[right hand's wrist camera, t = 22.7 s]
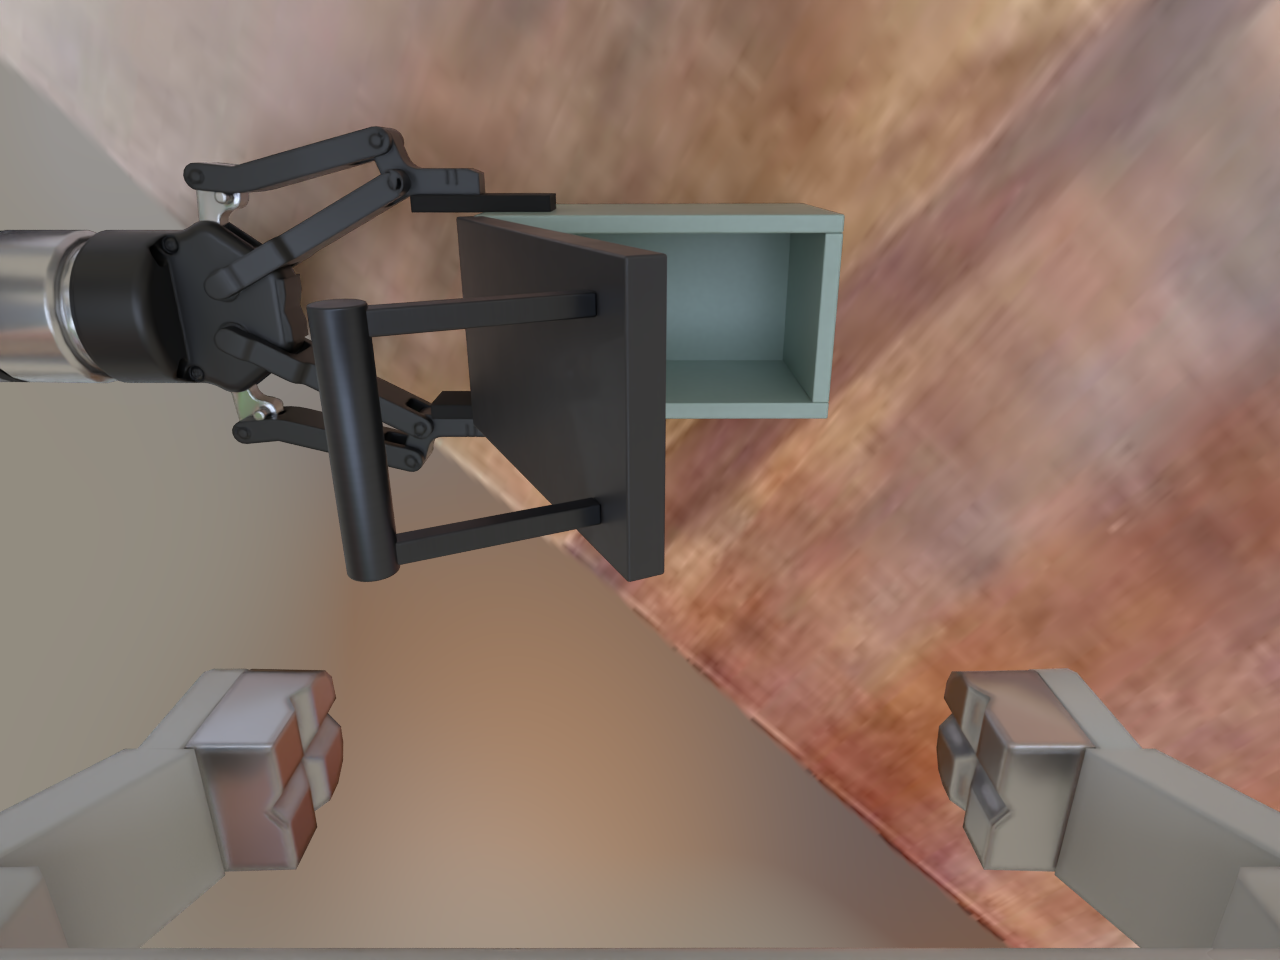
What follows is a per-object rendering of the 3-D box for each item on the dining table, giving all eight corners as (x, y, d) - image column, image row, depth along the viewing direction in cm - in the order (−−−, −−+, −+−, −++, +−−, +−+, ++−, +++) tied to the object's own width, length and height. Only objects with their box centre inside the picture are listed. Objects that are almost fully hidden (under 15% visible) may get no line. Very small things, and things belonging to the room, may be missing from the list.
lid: (668, 253, 21) (308, 273, 17) (665, 574, 24) (364, 646, 21) (484, 215, 35) (265, 222, 32) (498, 421, 39) (303, 448, 35)
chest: (804, 203, 45) (845, 214, 36) (793, 370, 48) (827, 418, 39) (507, 204, 45) (473, 215, 36) (517, 370, 48) (488, 419, 39)
